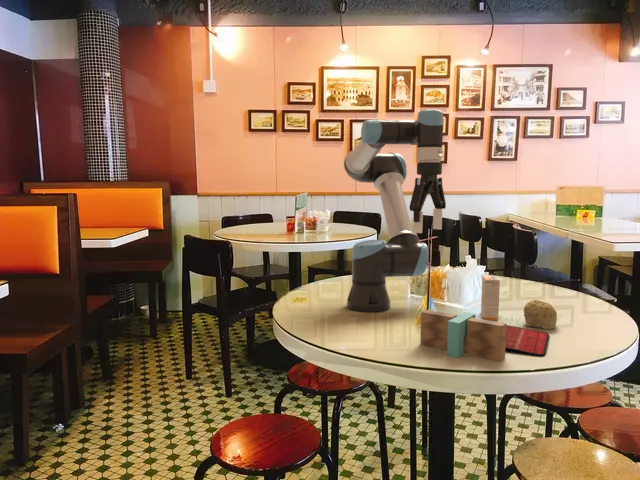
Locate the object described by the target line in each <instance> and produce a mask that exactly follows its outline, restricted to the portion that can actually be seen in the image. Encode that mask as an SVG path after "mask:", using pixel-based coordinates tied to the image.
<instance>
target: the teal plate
mask: <svg viewBox="0 0 640 480" xmlns="http://www.w3.org/2000/svg"><path fill="white" fill-rule="evenodd" d="M476 316H477V315H476V313H471V312H466V311H464V312H463V313H461V314H459V315H457V317H455V318H453V319H451V320H449V321H448V335H447V350H446V355H447V356H450V357H454V358H460V357H461V356H463V355H464V354H465V353H464V337H465V336H467V320H468V319H470V318H476Z"/></svg>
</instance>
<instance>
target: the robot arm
mask: <svg viewBox="0 0 640 480" xmlns="http://www.w3.org/2000/svg"><path fill="white" fill-rule="evenodd" d="M360 128H361V131H360V136H361V137H360V138H361V139H360V141H359V142H358V143H357V145H356V147H355V148H354V149H353V150H350V151H349V152H348V153H347V154H346V156H345V158H344V161H343V168H344V171H345V172H346V174H347V175H348V177H350V178H351V179H352V180H354V181H355V182H359V183H367V184H368V183H371V184H372V183H373V185H374V188H375V189H376V190H377V191H378V192H379V195H380V200H381V203H382V204H381V205H382V208H383V213H384V219H385V223H386V228H387V232H388V237H389V239H388V240H387V242H386V240H385V239H379V238H378V239H366V240H363V241H359V242H356V243H355V244H354V245H353V246H352V253H351V259H352V261H351V265H352V266H351V287H350V290H349V293H348V295H347V296H348V297H347V299H346V307H347V308H348V309H350V310H352V311H356V312H365V313H376V312H377V313H378V312H383V311H388V310H389V309H390V308H391V300H390V296H389V292H388V289H387V286H386V278H392V277H393V278H394V277H395V278H397V277H416V276H422V275H423V274H424V273H425V272H426V270H427V268H428V263H429V247H428V245H427V244H426V242H420V238H419V236H418V234H423V226H424V225H423V221H424V213H423V212H424V211H422V209H423V207H424V205H425V202H426V199H427V196H428V195H430V198H431V200H432V204H433V206H434V208H433V209H432V210H433V213H432V216H433V217H432V230H442V229H443V209H444V210H446V206H447V205H446V203H447V202H446V197H445V192H444V188H443V187H444V185H443V178H442V177H438V176H441V175H442V173H443V163H442V162H441V161H442V160H443V154H444V150H443V138H444V136H443V135H444V112H443V111H442V110H440V109H422V110H420V111H419V112H418V113H417V120H416V119H413V120H412V119H409V120H408V119H407V120H406V119H405V120H403V119H402V120H401V119H375V118H374V119H373V118H372V119H367V120H364V121H363V122H362V125H361V127H360ZM386 145H411V146H416V147H417V149H416V150H417V151H416V161H418V162H417V164H416V174H417V175H418V176H419V175H420V177H415V179H414V187H413V191H412V195H411V200H410V202H409V211H410V212H413V216H412V217H413V219H412V220H413V221H412V222H413V223H411V220H410V215H409V211H408V208H407V203H406V200H405V196H404V195H405V194H404V192H403V188H402V186H403V184H404V182H405V180H406V178H407V173H408V171H407V164H406V160H405V158H404V157H403V155H402V154H400V153H396V152H395V153H394V152H380V151H381V150H383V148H384V147H385V146H386ZM412 224H413V225H412Z"/></svg>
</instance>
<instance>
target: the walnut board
mask: <svg viewBox="0 0 640 480" xmlns="http://www.w3.org/2000/svg"><path fill="white" fill-rule="evenodd" d="M457 316H458V314H453V313H446V312H442V311H435V310H431V309H425V310H422V311H421V312H420V345H423V346H429V347H433V348H437V349H442V350H446V351H447V335H448V321H449V320H451V319H453V318H455V317H457ZM506 325H508V323H506V322H501V321H496V320H487V319H483V318H476V317H475V318H470V319H468V320H467V336H465V337H464V353H463V354H465V355H470V356H475V357H478V358H483V359H489V360H492V361H493V360H494V361H497V362H502V361H503V360H505V359H506V352H505V347H506Z"/></svg>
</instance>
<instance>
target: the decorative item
mask: <svg viewBox="0 0 640 480" xmlns="http://www.w3.org/2000/svg"><path fill="white" fill-rule="evenodd" d="M523 313H524V314H523V316H524V321H525V324H526V325H527V326H529V327H530V328H532V327H533V328H535V329H537V328H542V329H546V330H552V329H555V328H556V325H557V320H558V316H557V315H558V314H557V311H556V309H555V307H554V306H553V305H552V304H550V303H549V302H546V301H541V300H537V299H532V300H530V301H529V302H526V304H525V305H524V307H523Z"/></svg>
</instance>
